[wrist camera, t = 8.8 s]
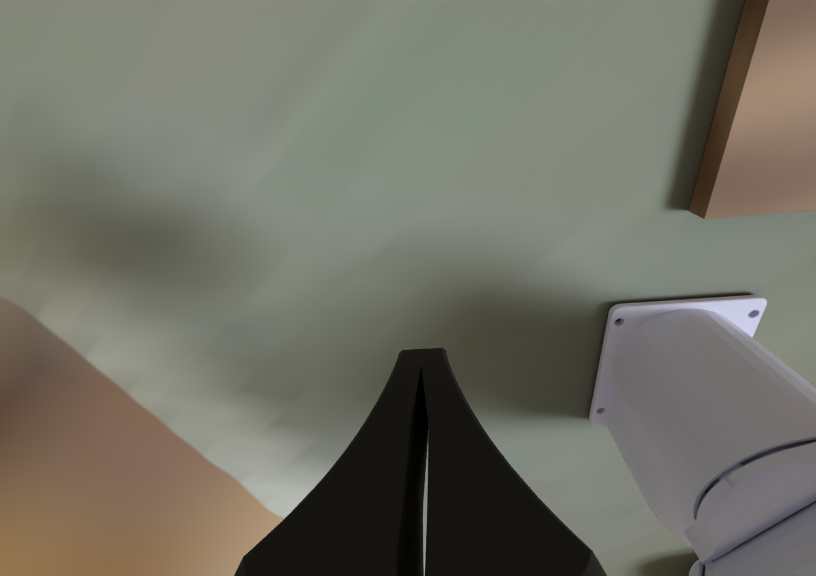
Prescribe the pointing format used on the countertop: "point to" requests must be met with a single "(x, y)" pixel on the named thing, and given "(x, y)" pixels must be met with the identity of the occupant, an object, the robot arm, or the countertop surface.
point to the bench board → (764, 117)
